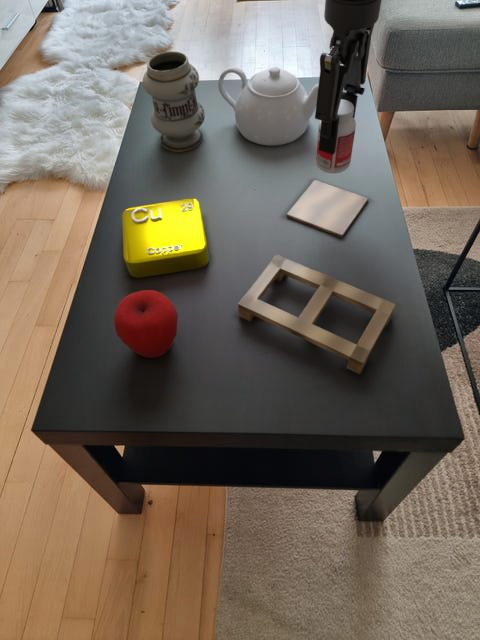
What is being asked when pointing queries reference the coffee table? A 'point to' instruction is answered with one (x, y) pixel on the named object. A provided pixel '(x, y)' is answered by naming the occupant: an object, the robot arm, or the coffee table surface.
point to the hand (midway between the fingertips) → (335, 140)
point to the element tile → (164, 238)
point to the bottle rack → (318, 310)
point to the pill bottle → (339, 142)
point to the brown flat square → (327, 208)
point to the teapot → (271, 106)
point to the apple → (146, 322)
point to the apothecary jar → (174, 100)
